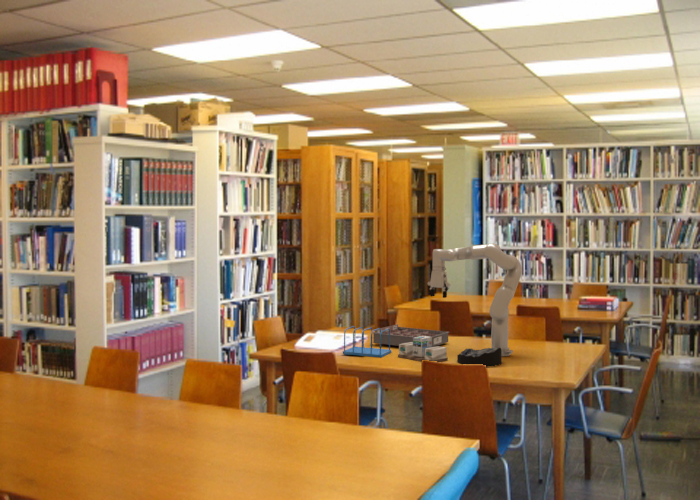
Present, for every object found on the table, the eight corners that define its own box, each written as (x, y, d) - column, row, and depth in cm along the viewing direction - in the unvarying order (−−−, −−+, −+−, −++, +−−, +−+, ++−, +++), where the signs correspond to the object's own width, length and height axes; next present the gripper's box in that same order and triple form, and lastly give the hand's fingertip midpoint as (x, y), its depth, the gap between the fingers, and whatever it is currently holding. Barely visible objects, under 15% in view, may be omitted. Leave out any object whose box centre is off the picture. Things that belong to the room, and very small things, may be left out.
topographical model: (492, 357, 418) (492, 340, 417) (508, 366, 393) (508, 348, 393) (452, 359, 414) (452, 341, 414) (465, 367, 390) (465, 349, 389)
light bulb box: (422, 357, 408) (422, 338, 407) (412, 356, 412) (412, 337, 411) (432, 354, 416) (432, 336, 415) (422, 353, 420) (422, 335, 420)
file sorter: (342, 354, 427) (342, 329, 426) (353, 349, 443) (353, 325, 442) (381, 357, 417) (381, 331, 416) (391, 352, 433) (391, 327, 432)
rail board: (447, 360, 409) (447, 347, 408) (431, 363, 399) (431, 350, 399) (413, 354, 428) (413, 341, 427) (397, 357, 418) (397, 344, 418)
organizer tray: (426, 351, 437) (426, 335, 437) (371, 345, 460) (371, 329, 459) (449, 344, 464) (449, 328, 463) (396, 338, 486) (396, 323, 486)
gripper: (453, 269, 433) (453, 297, 433) (431, 268, 445) (431, 295, 446) (445, 270, 428) (445, 298, 428) (424, 268, 440) (423, 296, 441)
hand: (438, 296), depth 437 cm, fingers open, 9 cm apart
